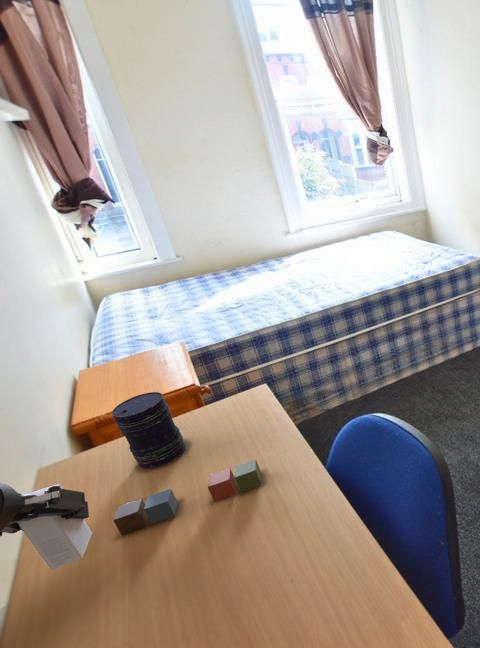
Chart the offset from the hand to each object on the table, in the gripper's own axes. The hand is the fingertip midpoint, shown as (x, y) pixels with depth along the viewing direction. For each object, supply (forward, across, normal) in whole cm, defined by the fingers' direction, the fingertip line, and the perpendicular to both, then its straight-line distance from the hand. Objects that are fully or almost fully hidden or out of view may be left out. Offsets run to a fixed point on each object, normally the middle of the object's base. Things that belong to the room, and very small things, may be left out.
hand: (67, 516), depth 80 cm
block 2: (+14, +9, -3) cm, 17 cm away
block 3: (+14, +20, -3) cm, 25 cm away
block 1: (+14, +4, -3) cm, 15 cm away
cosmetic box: (+1, 0, -6) cm, 6 cm away
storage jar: (+31, +5, +13) cm, 34 cm away
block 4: (+14, +25, -3) cm, 29 cm away
